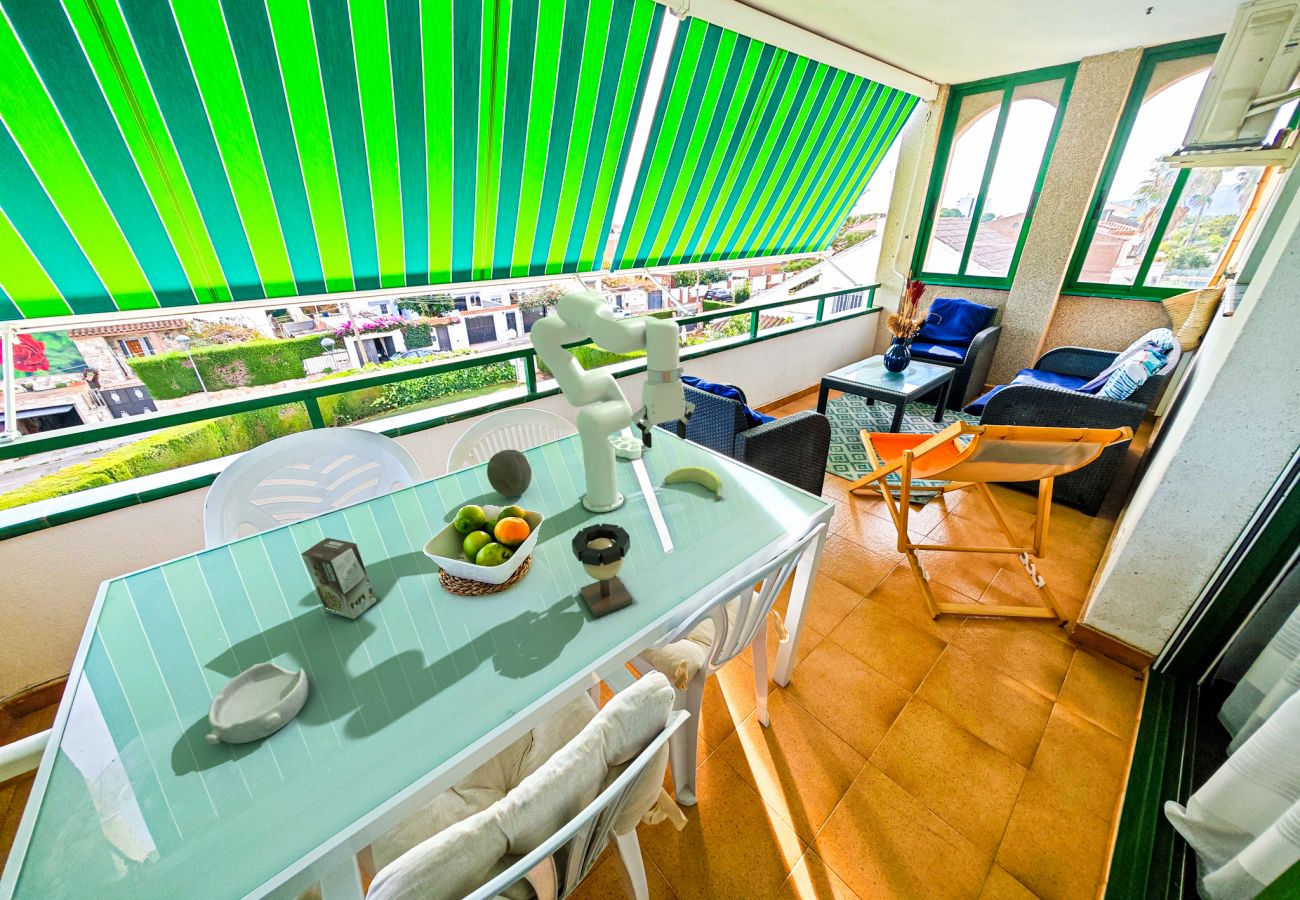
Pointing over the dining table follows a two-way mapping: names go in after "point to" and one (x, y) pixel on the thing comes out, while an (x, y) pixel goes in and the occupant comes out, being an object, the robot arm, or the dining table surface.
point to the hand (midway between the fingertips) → (664, 441)
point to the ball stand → (604, 584)
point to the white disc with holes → (627, 446)
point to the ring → (603, 555)
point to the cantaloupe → (509, 473)
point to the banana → (696, 477)
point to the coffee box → (339, 577)
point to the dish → (256, 703)
